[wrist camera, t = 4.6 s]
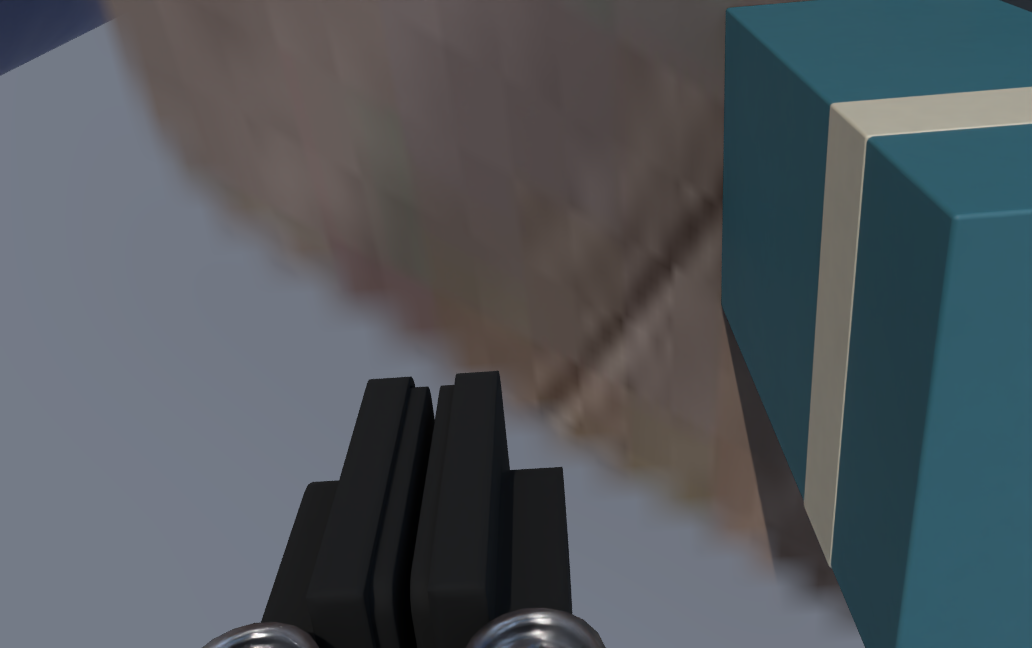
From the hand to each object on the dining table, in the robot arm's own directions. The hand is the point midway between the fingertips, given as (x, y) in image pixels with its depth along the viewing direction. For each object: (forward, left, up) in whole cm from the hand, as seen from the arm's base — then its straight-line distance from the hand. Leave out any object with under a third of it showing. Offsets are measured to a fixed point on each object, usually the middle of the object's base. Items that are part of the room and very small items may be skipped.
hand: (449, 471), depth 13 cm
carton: (+8, 0, -11) cm, 13 cm away
